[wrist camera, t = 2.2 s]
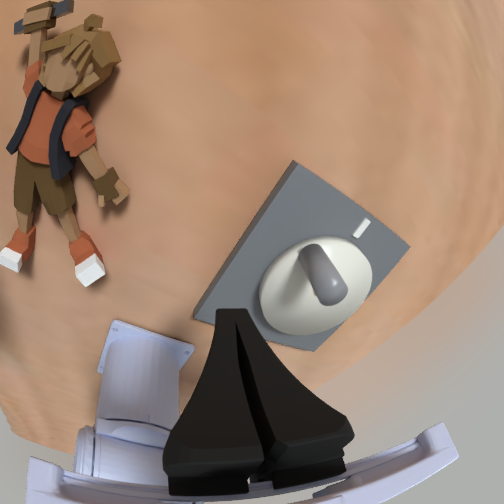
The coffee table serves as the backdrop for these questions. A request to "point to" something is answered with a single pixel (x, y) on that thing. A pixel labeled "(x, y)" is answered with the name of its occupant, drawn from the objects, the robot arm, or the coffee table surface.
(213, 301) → the stand plate
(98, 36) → the character figurine
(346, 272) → the dial
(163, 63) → the coffee table surface
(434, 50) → the coffee table surface
